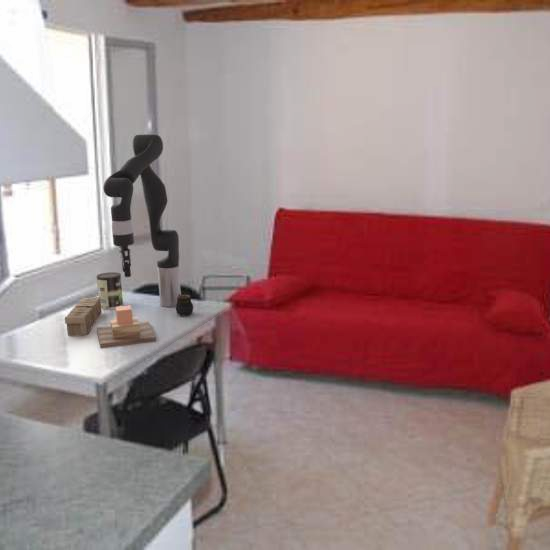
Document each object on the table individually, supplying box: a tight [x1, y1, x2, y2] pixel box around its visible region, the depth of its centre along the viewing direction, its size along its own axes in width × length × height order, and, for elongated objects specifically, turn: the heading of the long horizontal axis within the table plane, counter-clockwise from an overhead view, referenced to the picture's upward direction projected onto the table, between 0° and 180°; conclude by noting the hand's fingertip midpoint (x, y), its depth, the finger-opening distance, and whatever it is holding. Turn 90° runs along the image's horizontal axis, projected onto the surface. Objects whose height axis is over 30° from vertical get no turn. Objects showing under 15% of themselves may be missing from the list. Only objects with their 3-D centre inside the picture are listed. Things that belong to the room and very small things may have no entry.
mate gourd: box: [175, 294, 194, 317], centre depth 273 cm, size 7×8×10 cm
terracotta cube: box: [115, 305, 134, 325], centre depth 248 cm, size 6×6×6 cm
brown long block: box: [64, 296, 102, 337], centre depth 264 cm, size 8×8×29 cm
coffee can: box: [96, 271, 124, 310], centre depth 289 cm, size 10×10×14 cm
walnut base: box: [96, 316, 157, 349], centre depth 250 cm, size 20×20×6 cm
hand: (126, 274), depth 248 cm, fingers open, 8 cm apart
